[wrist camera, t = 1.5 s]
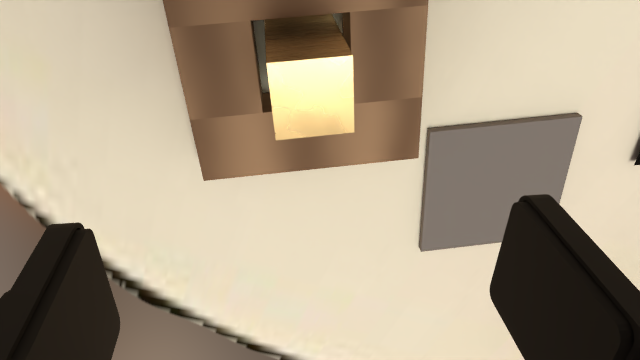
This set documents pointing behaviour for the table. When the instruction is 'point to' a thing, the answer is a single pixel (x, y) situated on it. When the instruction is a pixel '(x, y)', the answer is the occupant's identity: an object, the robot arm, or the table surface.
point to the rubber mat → (490, 175)
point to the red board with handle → (638, 160)
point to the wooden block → (309, 77)
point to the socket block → (255, 107)
